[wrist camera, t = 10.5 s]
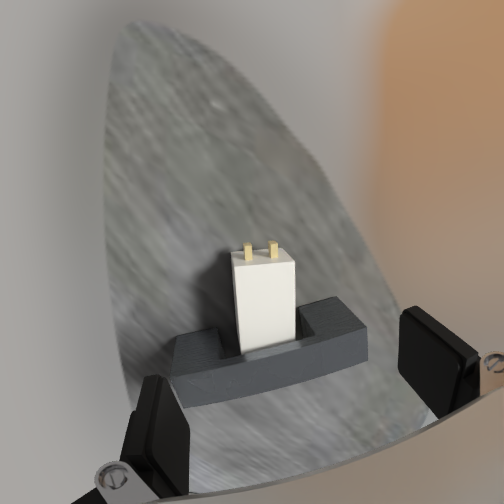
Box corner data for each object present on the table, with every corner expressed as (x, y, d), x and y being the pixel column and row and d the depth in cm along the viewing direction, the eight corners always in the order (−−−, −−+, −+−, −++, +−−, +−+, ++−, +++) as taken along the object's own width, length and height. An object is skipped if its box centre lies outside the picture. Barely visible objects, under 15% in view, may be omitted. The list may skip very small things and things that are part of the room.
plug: (284, 365, 27) (294, 391, 23) (240, 370, 27) (245, 398, 23) (281, 235, 24) (294, 246, 21) (229, 239, 24) (233, 251, 20)
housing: (339, 325, 27) (368, 360, 21) (187, 364, 26) (183, 408, 20) (336, 296, 26) (366, 327, 20) (176, 336, 25) (169, 377, 19)
